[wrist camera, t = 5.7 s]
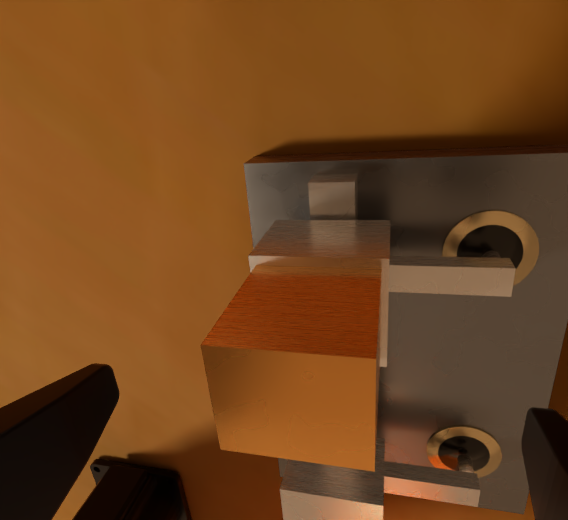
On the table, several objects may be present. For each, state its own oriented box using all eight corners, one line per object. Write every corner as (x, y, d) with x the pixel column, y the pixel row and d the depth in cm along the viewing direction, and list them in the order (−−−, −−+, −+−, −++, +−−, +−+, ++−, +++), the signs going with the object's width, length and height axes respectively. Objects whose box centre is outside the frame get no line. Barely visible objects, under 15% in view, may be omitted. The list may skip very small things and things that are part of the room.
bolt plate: (515, 486, 21) (554, 622, 16) (286, 453, 24) (256, 560, 19) (586, 143, 14) (695, 188, 9) (255, 156, 17) (195, 195, 12)
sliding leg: (493, 302, 16) (581, 512, 8) (289, 293, 18) (214, 457, 10) (506, 209, 14) (627, 364, 7) (282, 210, 16) (189, 332, 9)
